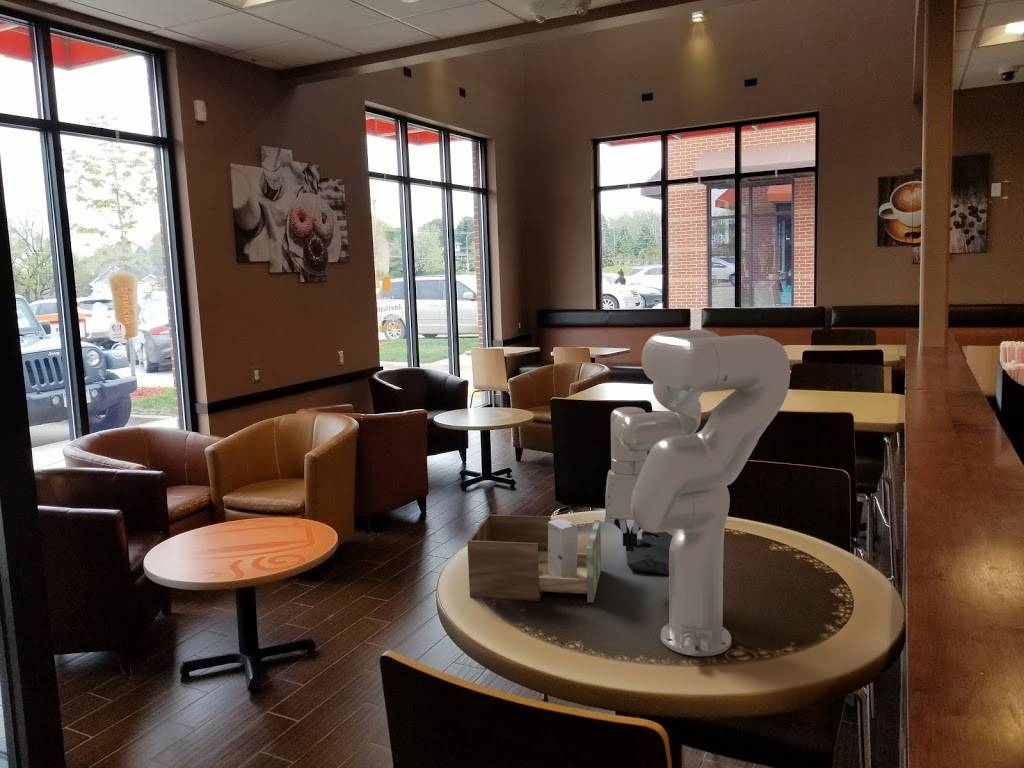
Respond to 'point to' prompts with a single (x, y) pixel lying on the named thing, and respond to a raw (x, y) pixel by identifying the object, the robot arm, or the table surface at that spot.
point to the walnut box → (507, 557)
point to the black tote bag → (651, 553)
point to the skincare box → (562, 548)
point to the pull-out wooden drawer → (585, 569)
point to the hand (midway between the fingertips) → (630, 549)
